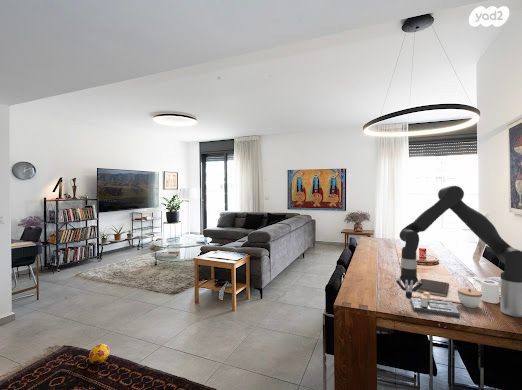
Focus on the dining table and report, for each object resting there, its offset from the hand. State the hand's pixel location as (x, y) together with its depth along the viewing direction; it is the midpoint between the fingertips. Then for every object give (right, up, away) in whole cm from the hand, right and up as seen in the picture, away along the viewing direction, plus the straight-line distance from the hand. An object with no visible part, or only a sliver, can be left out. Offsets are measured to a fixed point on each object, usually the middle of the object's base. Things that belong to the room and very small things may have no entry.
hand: (408, 298), depth 148 cm
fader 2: (+7, -3, -3) cm, 8 cm away
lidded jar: (+35, -5, +2) cm, 35 cm away
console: (+13, -5, -1) cm, 14 cm away
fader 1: (+11, -2, +3) cm, 12 cm away
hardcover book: (+31, -5, +29) cm, 42 cm away
